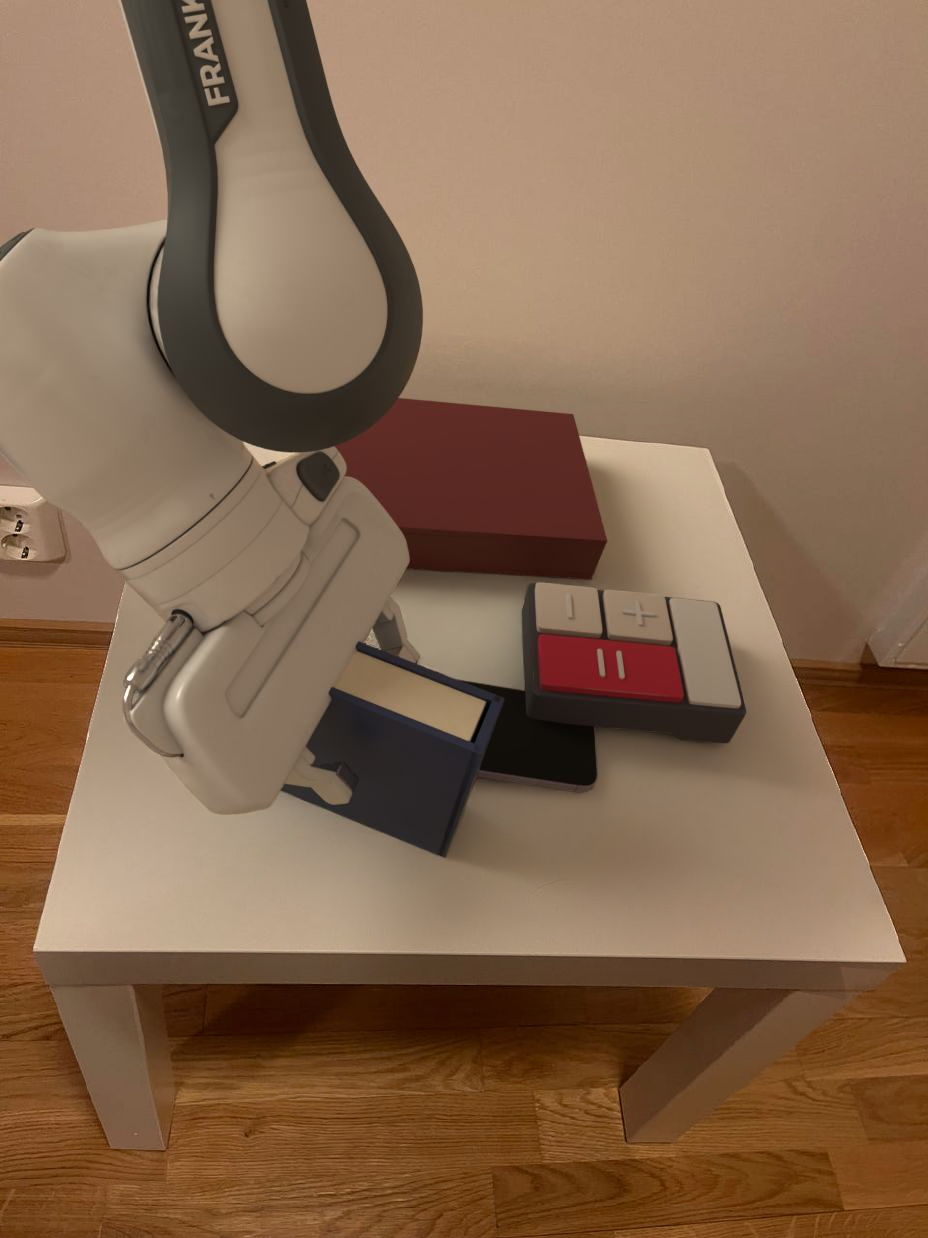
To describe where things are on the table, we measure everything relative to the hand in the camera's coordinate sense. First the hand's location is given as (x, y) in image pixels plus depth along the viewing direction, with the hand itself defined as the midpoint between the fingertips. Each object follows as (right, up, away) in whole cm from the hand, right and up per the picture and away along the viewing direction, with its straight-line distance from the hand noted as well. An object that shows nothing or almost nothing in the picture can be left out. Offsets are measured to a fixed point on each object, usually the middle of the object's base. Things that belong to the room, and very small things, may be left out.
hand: (379, 728), depth 53 cm
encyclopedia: (+4, +16, +24) cm, 30 cm away
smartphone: (+7, -2, +10) cm, 12 cm away
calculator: (+17, +2, +15) cm, 22 cm away
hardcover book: (-2, -5, +5) cm, 7 cm away
